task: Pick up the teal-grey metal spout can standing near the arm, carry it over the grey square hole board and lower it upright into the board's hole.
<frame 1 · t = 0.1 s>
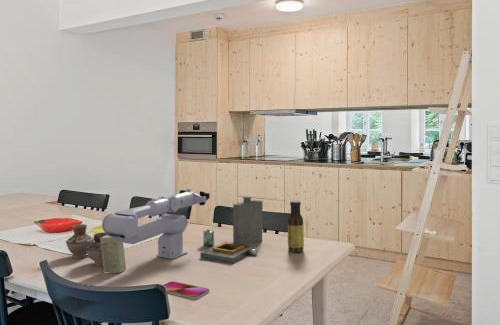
hand: (201, 195, 173), 21 cm above the table, tool horizontal, fingers open, 7 cm apart
spout can: (208, 245, 170), on the table
grey square hole board: (228, 254, 157), on the table
hip flask: (247, 243, 175), on the table
pottery: (91, 260, 150), on the table
skincare box: (114, 271, 138), on the table, touching arm
sauce bottle: (295, 251, 162), on the table
smartphone: (183, 292, 120), on the table
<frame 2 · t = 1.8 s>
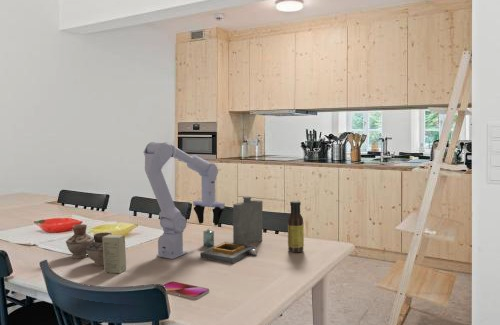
hand: (208, 224, 169), 9 cm above the table, tool pointing down, fingers open, 7 cm apart
skincare box: (114, 271, 137), on the table
everything else where it was.
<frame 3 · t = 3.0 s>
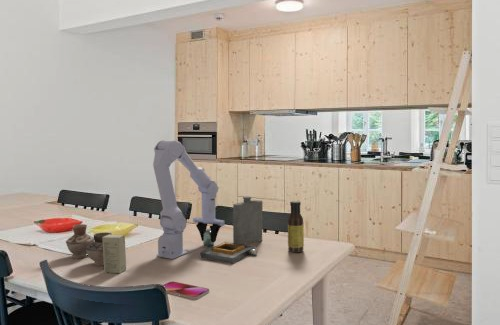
hand: (208, 241, 170), 2 cm above the table, tool pointing down, fingers closed on spout can, 4 cm apart
spout can: (208, 245, 170), on the table, touching gripper
everything else where it was.
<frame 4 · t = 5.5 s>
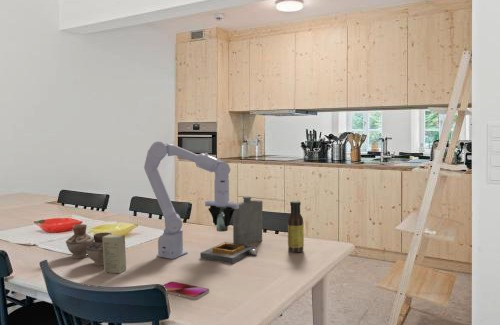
hand: (221, 225, 161), 10 cm above the table, tool pointing down, fingers closed on spout can, 4 cm apart
spout can: (222, 230, 161), point 8 cm above the table, touching gripper
everything else where it was.
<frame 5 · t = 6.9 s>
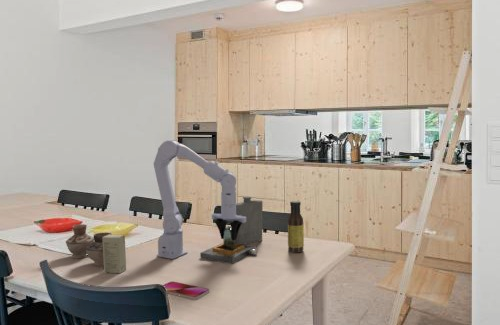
hand: (228, 239, 157), 6 cm above the table, tool pointing down, fingers closed on spout can, 4 cm apart
spout can: (229, 243, 157), point 4 cm above the table, touching gripper
everything else where it was.
when the fingers open (4 cm above the table, at t = 7.9 s): spout can drops 2 cm, resting in grey square hole board.
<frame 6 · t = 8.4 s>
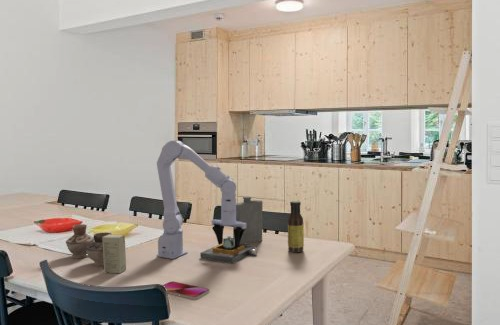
hand: (228, 245, 157), 4 cm above the table, tool pointing down, fingers open, 7 cm apart
spout can: (229, 254, 157), resting in grey square hole board
everything else where it was.
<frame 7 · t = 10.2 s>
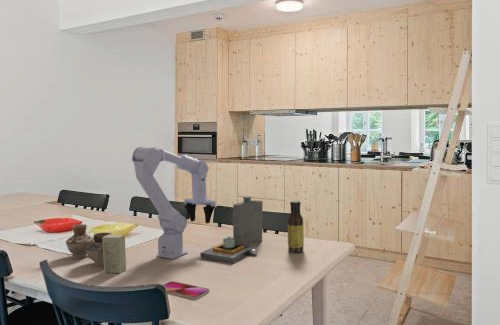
hand: (200, 222, 167), 10 cm above the table, tool pointing down, fingers open, 7 cm apart
nothing on the table moved.
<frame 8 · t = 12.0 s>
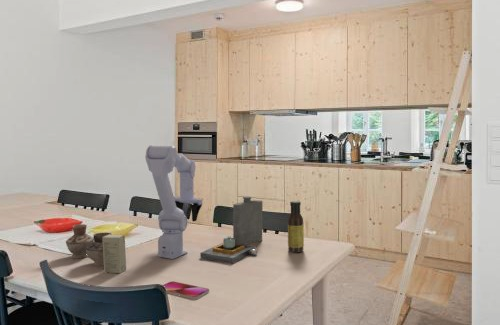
hand: (187, 220, 171), 10 cm above the table, tool pointing down, fingers open, 7 cm apart
nothing on the table moved.
at the end: spout can 0.3 cm off-centre on the grey square hole board, point 0.0 cm above the grey square hole board's base; spout can tilted 1°; the gripper is holding nothing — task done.
